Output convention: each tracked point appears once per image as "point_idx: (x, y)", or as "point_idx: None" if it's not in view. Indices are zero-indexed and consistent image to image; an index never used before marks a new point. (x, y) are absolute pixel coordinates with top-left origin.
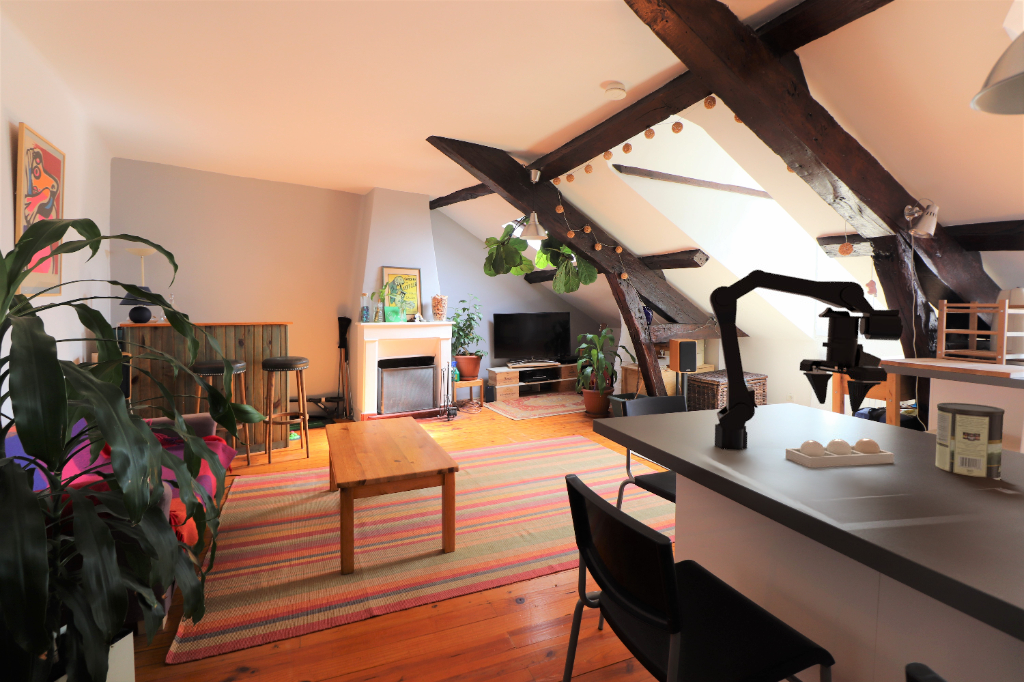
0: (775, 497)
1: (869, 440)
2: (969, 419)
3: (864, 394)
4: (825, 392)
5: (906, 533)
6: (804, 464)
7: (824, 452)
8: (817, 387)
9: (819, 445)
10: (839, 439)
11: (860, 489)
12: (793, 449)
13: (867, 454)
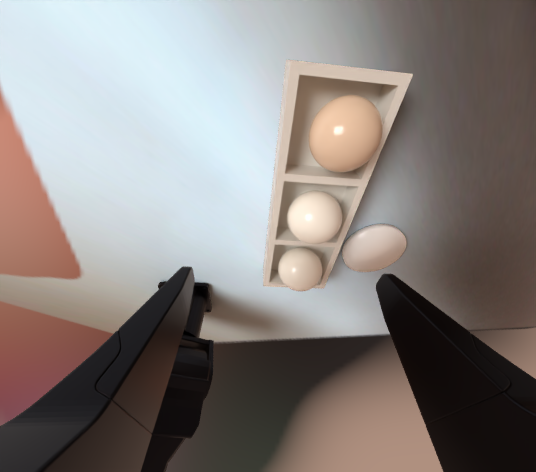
0: (359, 332)
1: (365, 153)
2: None
3: (489, 362)
4: (166, 320)
5: (479, 307)
6: None
7: (320, 261)
8: (164, 383)
9: (318, 279)
10: (321, 235)
11: (404, 263)
12: (269, 277)
13: (367, 177)
